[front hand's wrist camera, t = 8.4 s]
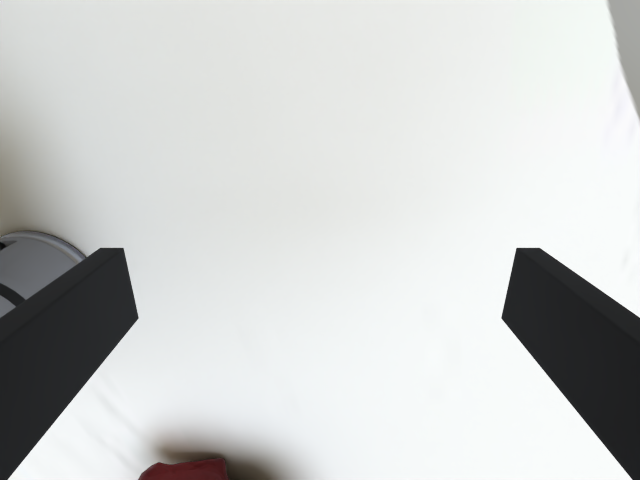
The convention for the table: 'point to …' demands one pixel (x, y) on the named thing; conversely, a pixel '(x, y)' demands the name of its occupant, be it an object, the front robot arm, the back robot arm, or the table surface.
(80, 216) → the table surface
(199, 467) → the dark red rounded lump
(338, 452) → the table surface
